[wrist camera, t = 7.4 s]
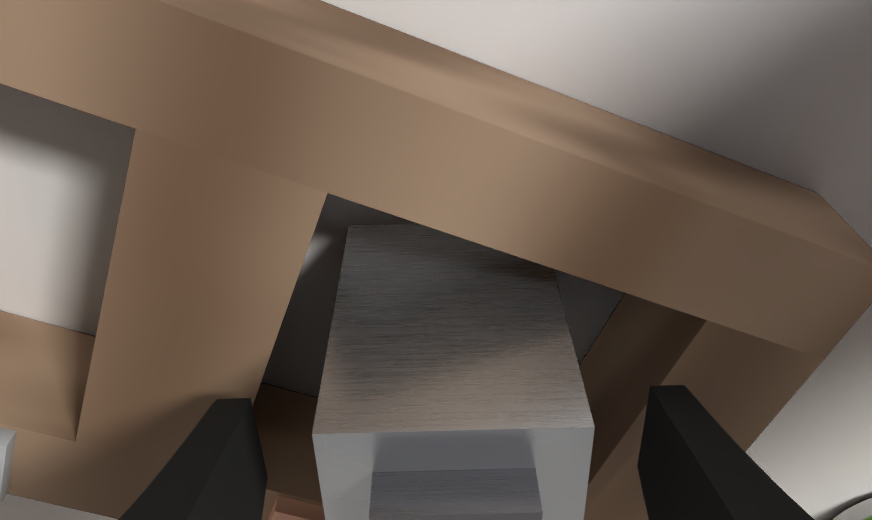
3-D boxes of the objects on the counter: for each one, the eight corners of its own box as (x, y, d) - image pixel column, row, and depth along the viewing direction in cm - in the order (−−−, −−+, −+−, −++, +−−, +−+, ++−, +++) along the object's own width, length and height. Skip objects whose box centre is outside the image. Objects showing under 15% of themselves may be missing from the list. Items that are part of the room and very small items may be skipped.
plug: (540, 220, 16) (606, 470, 10) (532, 367, 18) (582, 644, 12) (348, 225, 16) (303, 478, 10) (363, 372, 18) (333, 650, 12)
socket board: (819, 193, 15) (909, 287, 13) (573, 525, 21) (597, 644, 18) (-437, -294, 11) (-744, -322, 8) (-333, 290, 16) (-494, 398, 13)
